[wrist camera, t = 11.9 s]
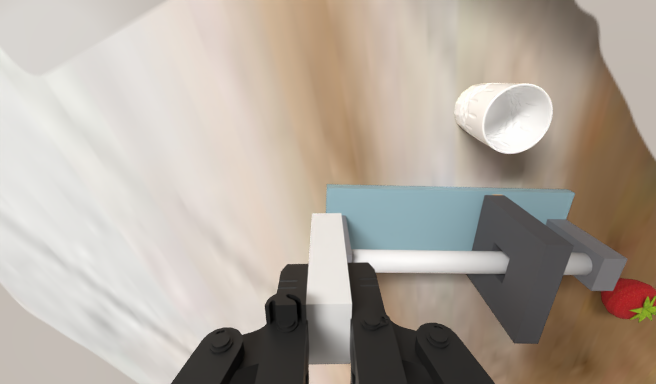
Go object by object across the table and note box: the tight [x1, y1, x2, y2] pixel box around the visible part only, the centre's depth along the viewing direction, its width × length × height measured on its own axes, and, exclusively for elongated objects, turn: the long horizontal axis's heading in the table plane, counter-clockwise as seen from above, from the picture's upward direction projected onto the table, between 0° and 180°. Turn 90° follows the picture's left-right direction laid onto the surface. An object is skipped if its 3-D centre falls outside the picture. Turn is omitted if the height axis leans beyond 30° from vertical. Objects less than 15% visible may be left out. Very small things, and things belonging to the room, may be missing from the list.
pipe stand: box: [326, 184, 627, 291], centre depth 47 cm, size 38×14×12 cm, turn 88°
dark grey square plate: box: [467, 195, 574, 344], centre depth 43 cm, size 3×14×14 cm, turn 178°
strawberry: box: [601, 278, 656, 322], centre depth 53 cm, size 6×8×10 cm
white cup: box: [454, 83, 553, 154], centre depth 41 cm, size 8×8×10 cm
